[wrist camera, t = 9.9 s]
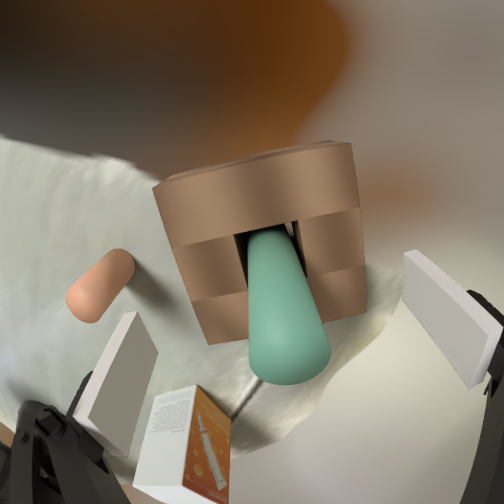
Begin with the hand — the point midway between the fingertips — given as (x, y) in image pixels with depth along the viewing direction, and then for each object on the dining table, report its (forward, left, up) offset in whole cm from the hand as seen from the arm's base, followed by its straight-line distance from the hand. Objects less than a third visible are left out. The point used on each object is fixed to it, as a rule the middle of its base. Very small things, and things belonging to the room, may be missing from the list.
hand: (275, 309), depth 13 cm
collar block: (0, 0, -10) cm, 11 cm away
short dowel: (-13, 0, -10) cm, 17 cm away
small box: (-13, -20, -11) cm, 26 cm away
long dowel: (0, 0, -10) cm, 11 cm away
